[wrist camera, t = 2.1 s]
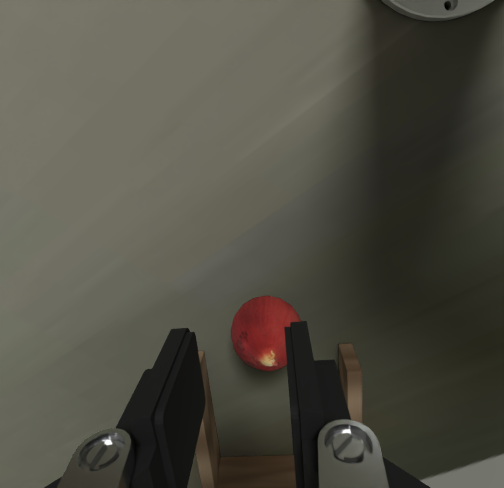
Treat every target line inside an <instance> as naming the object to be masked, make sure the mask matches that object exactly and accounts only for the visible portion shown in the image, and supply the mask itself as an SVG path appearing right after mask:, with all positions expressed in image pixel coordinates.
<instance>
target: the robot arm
mask: <svg viewBox="0 0 504 488" xmlns="http://www.w3.org/2000/svg"><path fill="white" fill-rule="evenodd" d="M381 1H382V2H383V3H385V4H386V5H388V6H389V7H390V8H392V9H393V10H395V11H396V12H398V13H400V14H403V15H405V16H408V17H410V18H413V19H418V20H425V21H444V20H451V19H455V18H458V17H462V16H466V15H468V14H470V13H472V12H474V11H476V10H479V9H481V8H483V7H485V6H486V5H488V4H489V3H491V2H493V1H494V0H381ZM444 3H445V4H447V5H448V10H446V9H445V7H444ZM284 330H285V343H286V357H287V370H288V384H289V397H290V411H291V424H292V438H293V451H294V464H295V478H296V488H430V487H429V486H427V485H425V484H424V483H422V482H421V481H419V480H418V479H416V478H415V477H413V476H411V475H410V474H408V473H407V472H405V471H404V470H402V469H401V468H399V467H397V466H396V465H394V464H393V463H391V462H390V461H388V460H387V459H385V458H383V457H382V453H381V449H380V444H379V442H378V439H377V437H376V436H375V434H374V433H373V432H372V431H371V430H370V429H369V428H368V427H366V426H365V425H363V424H361V423H359V422H356V421H353V420H351V417H350V413H349V410H348V406H347V403H346V399H345V395H344V392H343V388H342V385H341V381H340V377H339V374H338V370H337V367H336V363H335V361H334V360H319V361H314V359H313V354H312V348H311V343H310V338H309V333H308V327H307V322H306V321H300V322H290V326H289V327H284ZM205 404H206V397H205V390H204V384H203V378H202V372H201V366H200V360H199V354H198V348H197V342H196V336H195V333H194V332H190V331H189V329H188V328H180V329H171V331H170V333H169V335H168V337H167V339H166V341H165V343H164V345H163V347H162V349H161V352H160V354H159V356H158V358H157V360H156V362H155V364H154V366H153V368H152V369H147V370H145V372H144V373H143V375H142V377H141V379H140V381H139V383H138V385H137V387H136V389H135V391H134V393H133V395H132V397H131V399H130V401H129V403H128V405H127V407H126V409H125V411H124V413H123V415H122V417H121V419H120V420H119V422H118V424H117V426H116V428H110V429H106V430H102V431H99V432H97V433H95V434H93V435H91V436H90V437H88V438H87V439H85V440H84V441H83V442H82V443H81V444H80V445H79V446H78V447H77V449H76V450H75V452H74V453H73V455H72V457H71V459H70V461H69V463H68V466H67V468H66V470H65V472H64V474H63V476H62V477H60V478H59V479H57V480H56V481H54V482H53V483H51V484H49V485H48V486H46V487H45V488H187V485H188V480H189V476H190V472H191V467H192V463H193V458H194V454H195V450H196V445H197V441H198V436H199V432H200V428H201V423H202V419H203V414H204V410H205Z"/></svg>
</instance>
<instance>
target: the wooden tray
mask: <svg viewBox="0 0 504 488" xmlns="http://www.w3.org/2000/svg"><path fill="white" fill-rule="evenodd" d="M198 354H199V360H200V366H201V372H202V378H203V384H204V390H205V397H206V404H205V410H204V414H203V419H202V423H201V428H200V432H199V436H198V441H197V445H196V450H195V451H196V457H197V462H198V467H199V473H200V478H201V484H202V488H296V478H295V464H294V455H274V456H242V457H221V456H220V449H219V443H218V436H217V430H216V424H215V417H214V411H213V405H212V398H211V392H210V386H209V379H208V373H207V367H206V360H205V354H204V351H198ZM339 377H340V381H341V385H342V388H343V392H344V395H345V399H346V403H347V406H348V410H349V413H350V417H351V420H353V421H356V422H359V423H361V424H362V369H361V367H360V364H359V362H358V359H357V356H356V354H355V351H354V348H353V346H352V343H347V344H339Z"/></svg>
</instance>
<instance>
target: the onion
mask: <svg viewBox="0 0 504 488" xmlns="http://www.w3.org/2000/svg"><path fill="white" fill-rule="evenodd" d="M300 321H301V320H300V317H299V315H298V313H297V312H296V311H295V310H294V308H293V307H292V306H291V305H290V304H288V303H287V302H285V301H283V300H282V299H280V298H276V297H271V296H261V297H256V298H253V299H251V300H249V301H248V302H246V303H245V304H243V305H242V307H241V308H240V309H239V310H238V312H237V313H236V315H235V317H234V319H233V323H232V328H231V338H232V342H233V346H234V349H235V351H236V353H237V354H238V355H239V357H240V358H241V359H242V360H243V361H244V363H245V364H247V365H248V366H251V367H254V368H257V369H260V370H265V371H273V370H277V369H281V368H282V367H284V366H285V365H287V357H286V343H285V330H284V327H289V326H290V322H300Z"/></svg>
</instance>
